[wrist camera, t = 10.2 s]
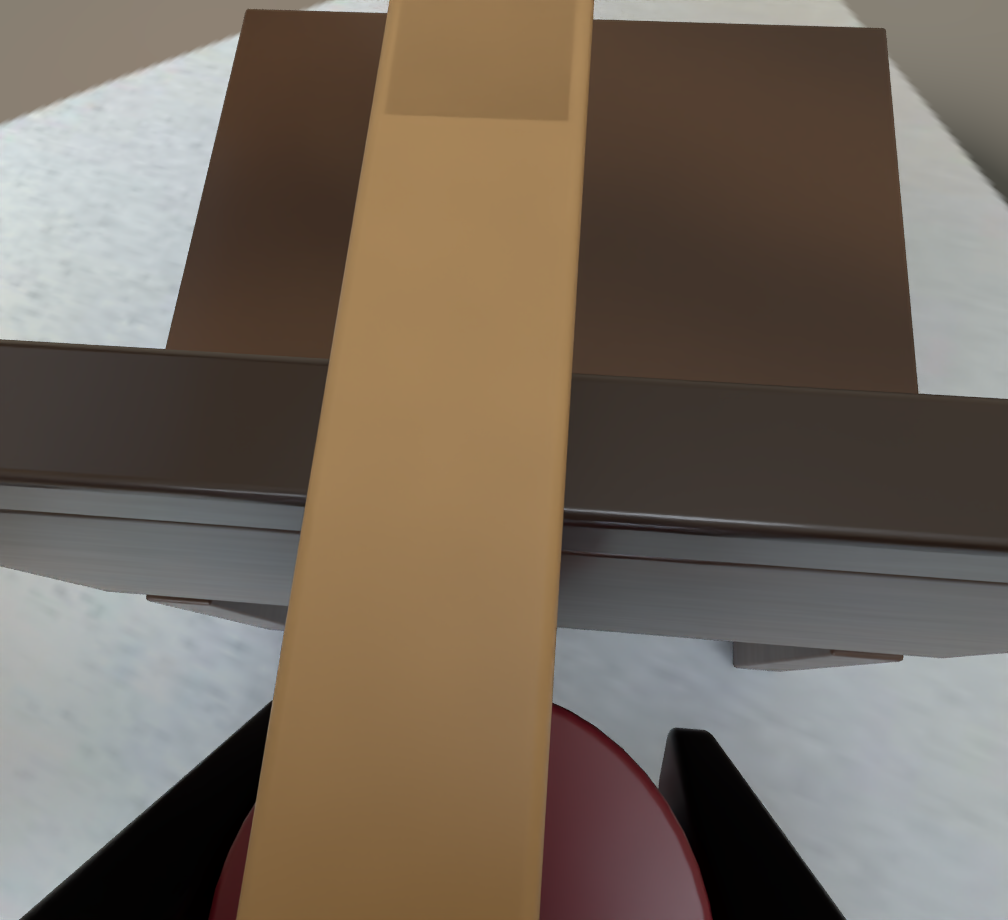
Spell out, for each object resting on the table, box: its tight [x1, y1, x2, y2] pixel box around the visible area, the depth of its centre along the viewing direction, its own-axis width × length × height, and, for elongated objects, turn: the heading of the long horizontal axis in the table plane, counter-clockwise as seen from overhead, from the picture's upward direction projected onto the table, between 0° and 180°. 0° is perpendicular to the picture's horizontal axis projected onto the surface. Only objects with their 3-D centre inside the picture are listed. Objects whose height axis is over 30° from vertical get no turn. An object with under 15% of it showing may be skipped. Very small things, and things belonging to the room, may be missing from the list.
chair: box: [0, 9, 1008, 671], centre depth 13 cm, size 12×14×15 cm
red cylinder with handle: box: [208, 0, 713, 920], centre depth 8 cm, size 7×4×12 cm, turn 175°
